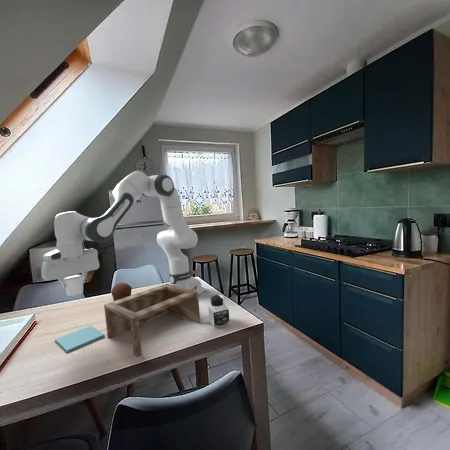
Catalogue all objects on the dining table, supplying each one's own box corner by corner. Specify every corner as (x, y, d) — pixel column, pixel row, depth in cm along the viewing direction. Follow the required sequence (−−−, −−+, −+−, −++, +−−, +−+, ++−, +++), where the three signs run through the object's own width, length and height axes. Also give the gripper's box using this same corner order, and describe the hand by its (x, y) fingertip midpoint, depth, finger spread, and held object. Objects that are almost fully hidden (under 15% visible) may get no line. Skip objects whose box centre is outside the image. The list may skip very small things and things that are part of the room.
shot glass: (69, 297, 98) (67, 280, 98) (62, 294, 102) (60, 278, 102) (87, 292, 104) (86, 275, 103) (80, 289, 108) (78, 273, 107)
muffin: (112, 299, 150) (110, 282, 149) (132, 295, 154) (130, 279, 153) (111, 306, 139) (110, 288, 138) (133, 302, 143) (131, 284, 142)
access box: (168, 310, 128) (166, 283, 127) (200, 322, 113) (197, 291, 111) (107, 337, 105) (104, 304, 103) (136, 356, 89) (132, 318, 88)
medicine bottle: (214, 328, 106) (212, 300, 105) (209, 321, 113) (207, 295, 112) (229, 324, 109) (228, 297, 108) (223, 317, 116) (222, 292, 115)
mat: (91, 327, 114) (90, 325, 114) (104, 336, 105) (104, 334, 105) (55, 341, 104) (55, 339, 104) (66, 352, 95) (66, 350, 95)
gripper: (94, 246, 111) (97, 277, 113) (38, 256, 96) (42, 291, 97) (100, 247, 107) (103, 279, 108) (42, 257, 92) (47, 294, 93)
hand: (74, 285), depth 103 cm, fingers closed on shot glass, 5 cm apart
